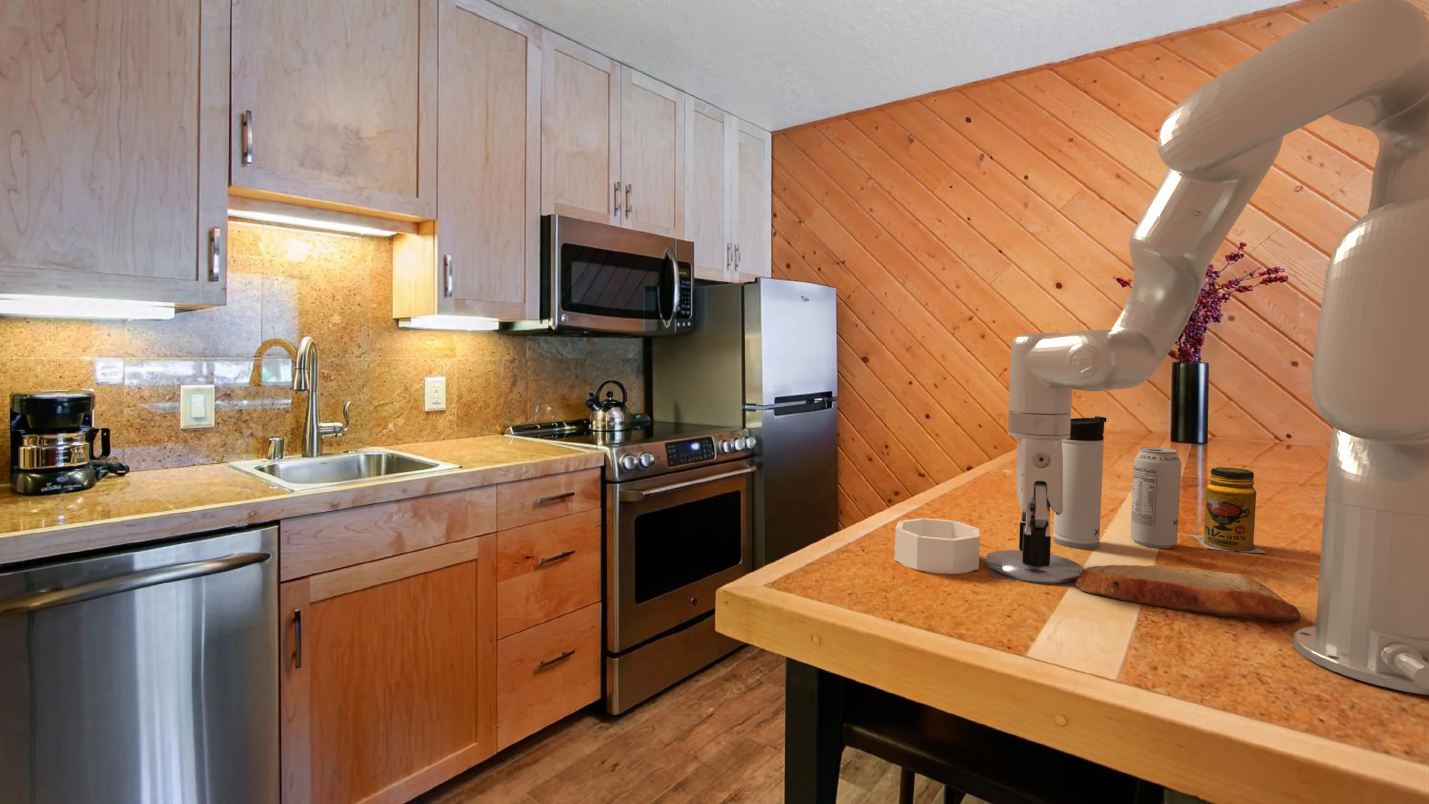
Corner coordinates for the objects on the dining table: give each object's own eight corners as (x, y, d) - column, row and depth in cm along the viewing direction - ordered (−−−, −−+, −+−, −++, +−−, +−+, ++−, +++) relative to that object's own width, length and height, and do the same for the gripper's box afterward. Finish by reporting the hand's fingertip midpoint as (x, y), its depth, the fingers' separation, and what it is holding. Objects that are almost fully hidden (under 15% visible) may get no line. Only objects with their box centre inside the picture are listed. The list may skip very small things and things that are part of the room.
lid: (1091, 589, 82) (1093, 543, 82) (987, 577, 86) (988, 533, 86) (1076, 560, 93) (1077, 520, 93) (984, 551, 98) (985, 513, 97)
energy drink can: (1184, 552, 99) (1190, 453, 98) (1141, 550, 100) (1146, 452, 98) (1164, 541, 105) (1169, 447, 103) (1123, 539, 106) (1127, 446, 104)
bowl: (978, 580, 86) (980, 543, 86) (892, 570, 90) (892, 534, 90) (977, 556, 97) (978, 522, 96) (899, 548, 101) (900, 516, 100)
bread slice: (1061, 583, 84) (1063, 554, 84) (1160, 569, 90) (1162, 542, 90) (1209, 643, 67) (1212, 607, 67) (1318, 620, 74) (1321, 588, 73)
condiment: (1208, 550, 100) (1213, 471, 99) (1190, 535, 108) (1194, 463, 107) (1267, 555, 98) (1272, 475, 97) (1244, 539, 106) (1249, 465, 105)
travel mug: (1109, 551, 99) (1116, 419, 98) (1065, 551, 99) (1071, 418, 98) (1087, 539, 105) (1093, 414, 104) (1045, 539, 105) (1050, 414, 104)
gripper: (1080, 434, 79) (1074, 581, 81) (1061, 420, 95) (1056, 543, 97) (1012, 431, 82) (1007, 574, 83) (1004, 418, 98) (1000, 538, 99)
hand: (1033, 556), depth 90 cm, fingers open, 5 cm apart
